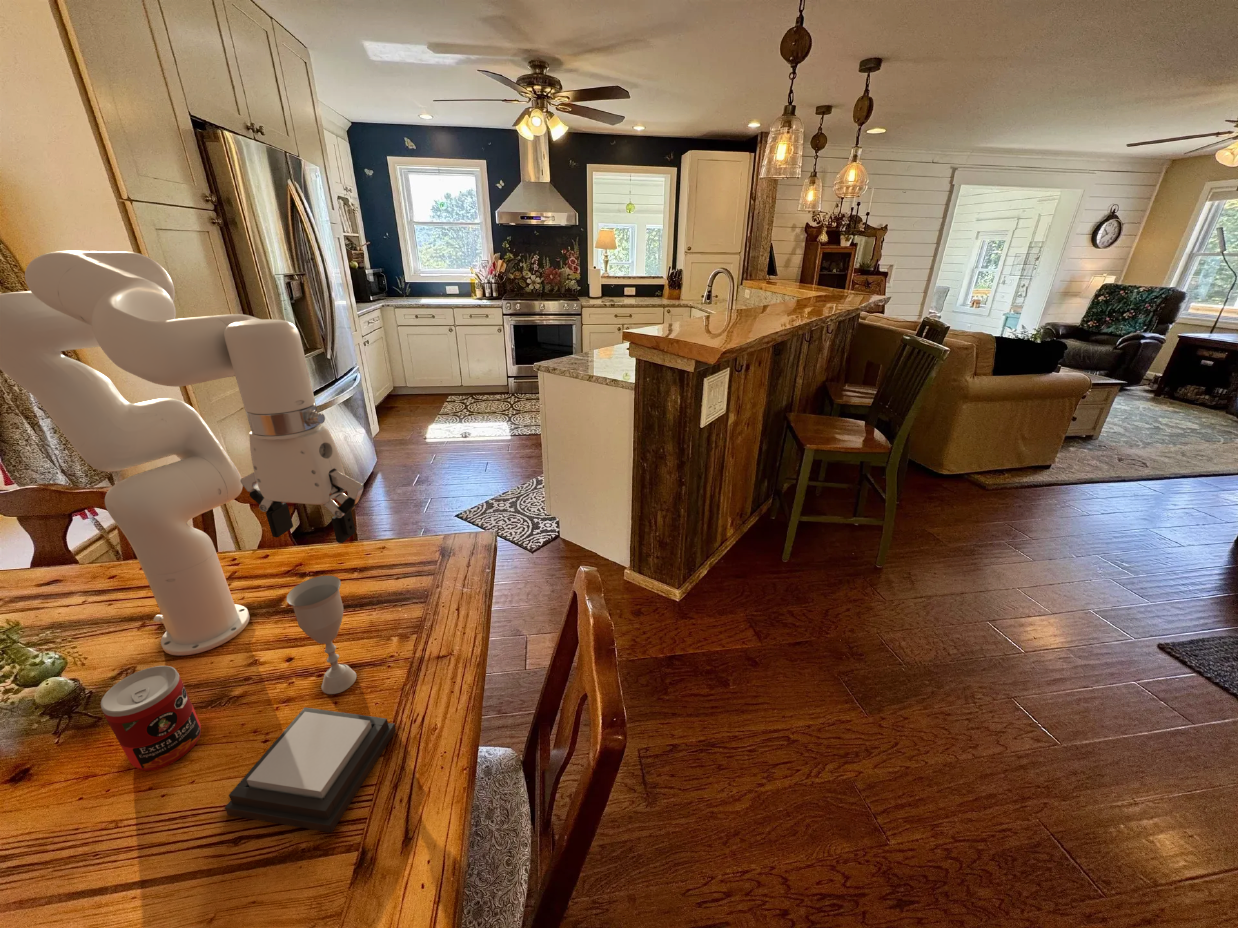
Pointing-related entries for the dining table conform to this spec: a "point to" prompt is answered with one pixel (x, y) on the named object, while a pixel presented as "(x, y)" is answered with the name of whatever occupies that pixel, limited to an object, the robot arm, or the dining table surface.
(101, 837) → the dining table surface
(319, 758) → the pan
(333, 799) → the scale
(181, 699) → the canned food
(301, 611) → the chalice
